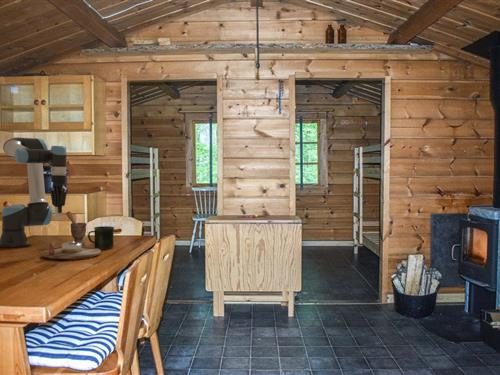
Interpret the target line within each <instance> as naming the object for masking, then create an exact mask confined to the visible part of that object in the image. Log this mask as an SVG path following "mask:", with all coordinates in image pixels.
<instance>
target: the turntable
mask: <svg viewBox="0 0 500 375" xmlns="http://www.w3.org/2000/svg"><path fill="white" fill-rule="evenodd" d="M101 250H102V249H97V248H95V247H89V246H82V252H78V253H62V252H61V247H59V248H55V242H49V243H48V250H45V251H44V252H43V253H42V256H43V257H44V258H46V259H47V258H48V259H54V260H73V259H74V260H76V259H78V260H79V259H85V258H92V257H95V256H99V255H101V253H102V251H101Z"/></svg>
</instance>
